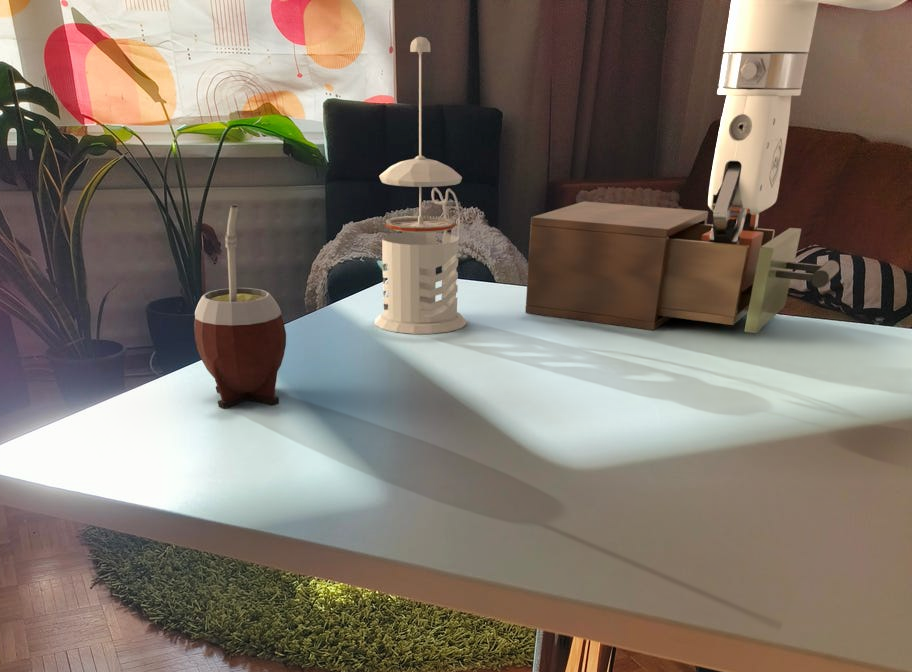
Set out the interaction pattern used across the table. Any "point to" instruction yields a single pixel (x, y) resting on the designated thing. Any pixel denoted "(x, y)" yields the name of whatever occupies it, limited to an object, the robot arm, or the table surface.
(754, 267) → the block
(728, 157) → the robot arm
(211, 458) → the table surface
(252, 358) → the mate gourd
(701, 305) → the drawer
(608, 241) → the cabinet
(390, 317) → the french press
